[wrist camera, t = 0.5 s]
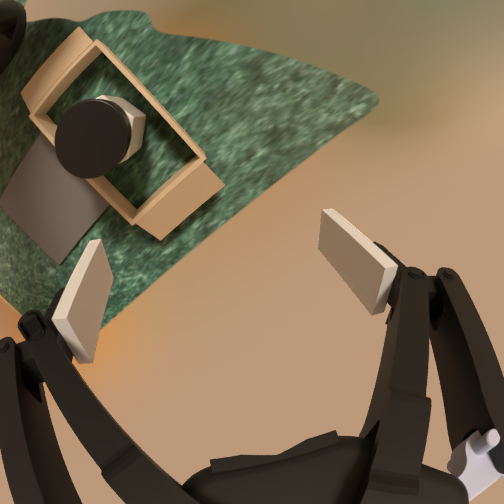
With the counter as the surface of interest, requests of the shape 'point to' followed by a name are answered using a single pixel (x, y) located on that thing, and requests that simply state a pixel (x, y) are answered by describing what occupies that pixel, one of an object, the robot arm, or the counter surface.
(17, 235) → the counter surface
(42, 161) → the mat
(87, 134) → the jar
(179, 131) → the carton
